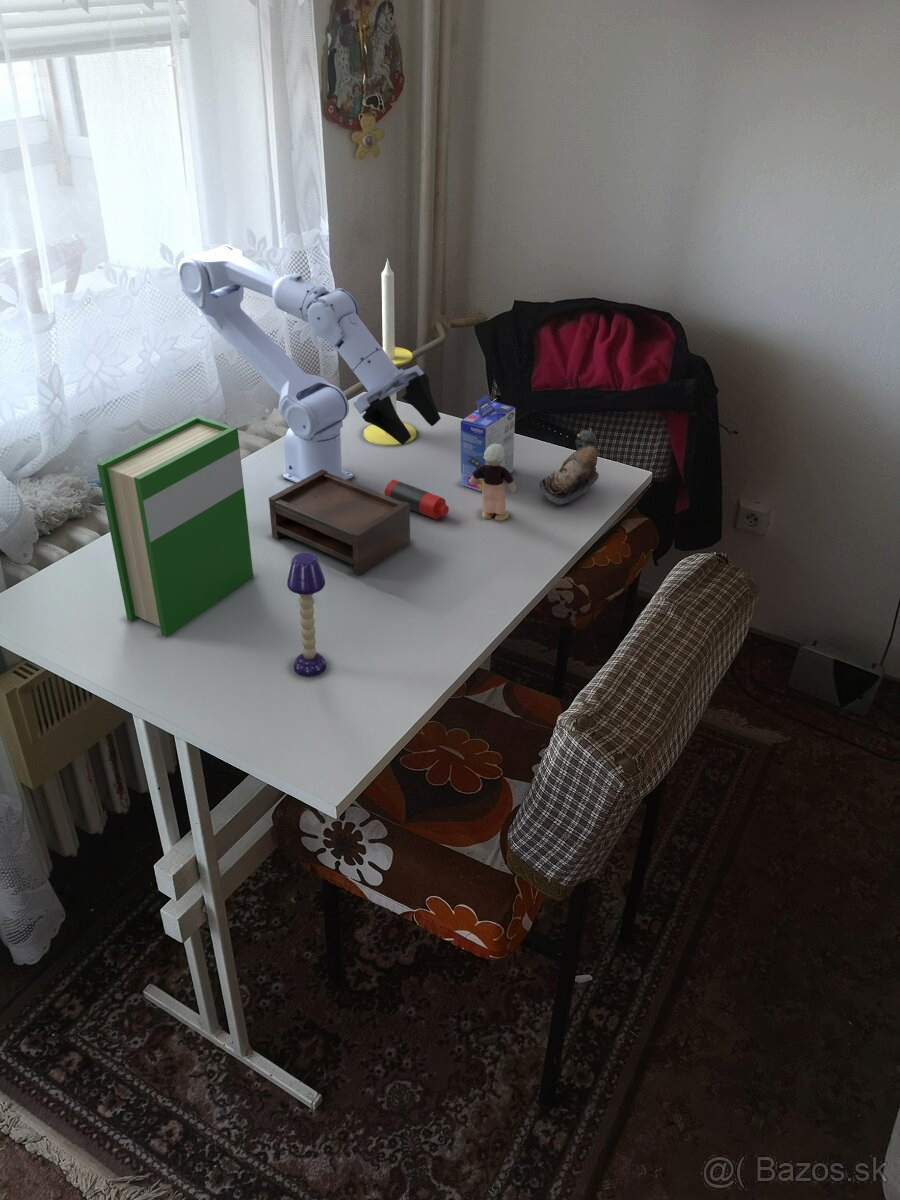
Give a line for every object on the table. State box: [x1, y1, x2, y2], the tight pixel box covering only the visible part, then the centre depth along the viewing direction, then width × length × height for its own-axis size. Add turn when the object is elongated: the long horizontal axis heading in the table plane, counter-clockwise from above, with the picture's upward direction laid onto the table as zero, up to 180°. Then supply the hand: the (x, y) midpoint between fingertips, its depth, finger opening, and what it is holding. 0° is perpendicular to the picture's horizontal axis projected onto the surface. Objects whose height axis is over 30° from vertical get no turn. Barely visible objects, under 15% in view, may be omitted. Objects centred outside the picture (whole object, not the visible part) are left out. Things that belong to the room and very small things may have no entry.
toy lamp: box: [286, 551, 327, 678], centre depth 130 cm, size 5×5×17 cm
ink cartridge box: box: [460, 394, 516, 493], centre depth 174 cm, size 10×6×14 cm, turn 147°
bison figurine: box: [539, 427, 600, 506], centre depth 171 cm, size 12×7×10 cm, turn 142°
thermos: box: [384, 479, 449, 520], centre depth 168 cm, size 11×4×4 cm, turn 53°
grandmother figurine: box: [469, 443, 517, 522], centre depth 164 cm, size 8×4×13 cm, turn 84°
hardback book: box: [96, 414, 254, 638], centre depth 140 cm, size 18×7×24 cm, turn 148°
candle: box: [363, 257, 417, 447], centre depth 183 cm, size 10×10×32 cm
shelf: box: [268, 469, 411, 577], centre depth 159 cm, size 18×12×7 cm, turn 53°
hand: (421, 431), depth 159 cm, fingers open, 7 cm apart
